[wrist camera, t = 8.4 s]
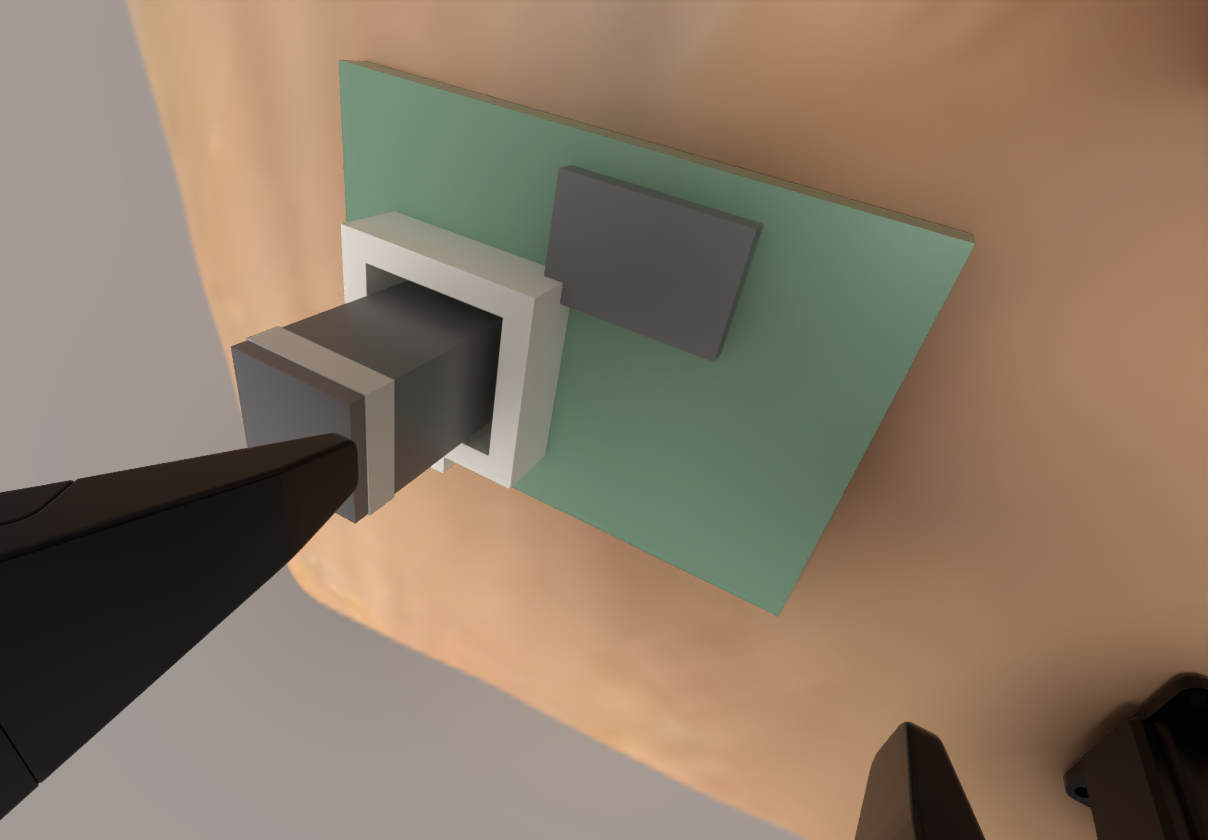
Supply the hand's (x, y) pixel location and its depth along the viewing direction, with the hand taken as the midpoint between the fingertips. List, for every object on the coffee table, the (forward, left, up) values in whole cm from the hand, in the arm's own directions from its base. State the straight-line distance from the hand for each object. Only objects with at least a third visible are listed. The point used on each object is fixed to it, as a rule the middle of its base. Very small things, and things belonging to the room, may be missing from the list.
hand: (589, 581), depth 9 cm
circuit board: (+6, +3, -12) cm, 14 cm away
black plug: (+10, +4, -11) cm, 15 cm away
